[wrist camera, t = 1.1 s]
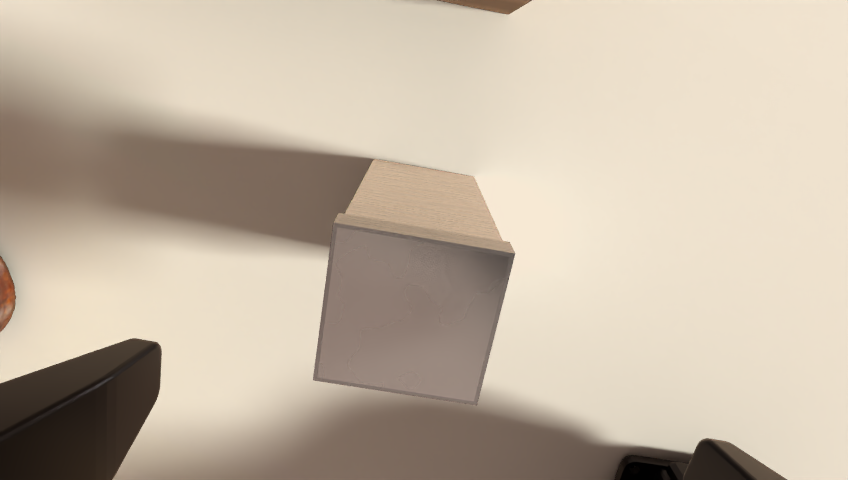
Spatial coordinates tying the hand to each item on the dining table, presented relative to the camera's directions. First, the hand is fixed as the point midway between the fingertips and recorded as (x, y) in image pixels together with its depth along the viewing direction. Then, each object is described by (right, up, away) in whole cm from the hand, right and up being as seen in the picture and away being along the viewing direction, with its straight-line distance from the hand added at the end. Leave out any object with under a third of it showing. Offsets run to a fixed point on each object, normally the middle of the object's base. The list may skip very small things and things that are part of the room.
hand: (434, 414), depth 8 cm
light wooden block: (-1, +4, +13) cm, 13 cm away
